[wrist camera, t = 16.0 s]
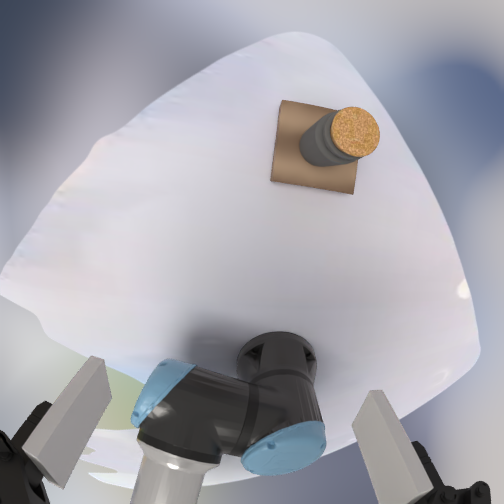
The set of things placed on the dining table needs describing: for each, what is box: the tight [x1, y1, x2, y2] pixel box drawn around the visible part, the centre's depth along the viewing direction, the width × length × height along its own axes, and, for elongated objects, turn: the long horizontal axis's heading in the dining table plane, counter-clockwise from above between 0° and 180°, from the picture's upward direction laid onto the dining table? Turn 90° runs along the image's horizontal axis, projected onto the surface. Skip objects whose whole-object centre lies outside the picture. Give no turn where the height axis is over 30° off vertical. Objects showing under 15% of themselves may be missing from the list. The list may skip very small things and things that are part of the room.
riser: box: [270, 100, 358, 195], centre depth 38 cm, size 12×12×4 cm
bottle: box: [299, 107, 380, 167], centre depth 28 cm, size 6×6×15 cm
